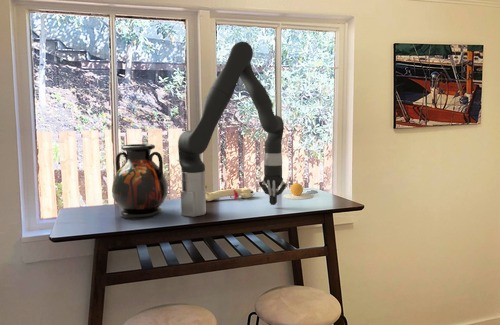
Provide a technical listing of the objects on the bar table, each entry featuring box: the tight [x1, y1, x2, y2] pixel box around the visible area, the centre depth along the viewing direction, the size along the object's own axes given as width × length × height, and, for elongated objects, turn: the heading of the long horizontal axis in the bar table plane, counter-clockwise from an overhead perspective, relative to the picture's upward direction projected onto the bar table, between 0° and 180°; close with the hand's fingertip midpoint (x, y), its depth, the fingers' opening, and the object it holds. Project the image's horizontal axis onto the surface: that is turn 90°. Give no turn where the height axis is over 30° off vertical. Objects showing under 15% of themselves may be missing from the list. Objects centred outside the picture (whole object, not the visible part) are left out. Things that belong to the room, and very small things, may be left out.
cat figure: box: [205, 184, 255, 202], centre depth 199 cm, size 10×9×25 cm
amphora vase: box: [111, 143, 169, 220], centre depth 170 cm, size 22×22×28 cm
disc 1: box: [283, 193, 314, 200], centre depth 204 cm, size 14×14×1 cm
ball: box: [290, 182, 304, 196], centre depth 206 cm, size 6×6×6 cm
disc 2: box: [305, 189, 318, 195], centre depth 214 cm, size 10×10×1 cm
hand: (273, 204), depth 180 cm, fingers closed
